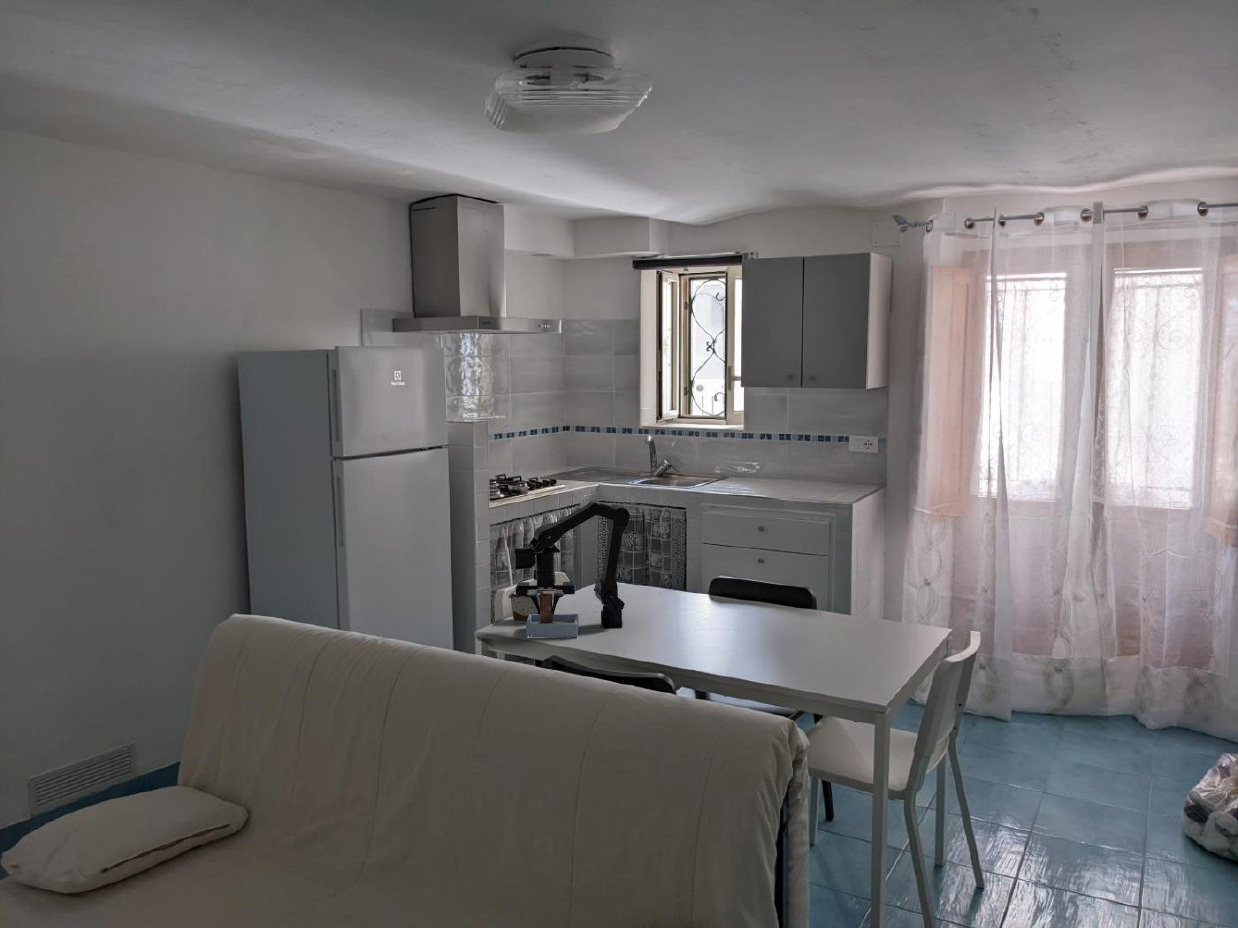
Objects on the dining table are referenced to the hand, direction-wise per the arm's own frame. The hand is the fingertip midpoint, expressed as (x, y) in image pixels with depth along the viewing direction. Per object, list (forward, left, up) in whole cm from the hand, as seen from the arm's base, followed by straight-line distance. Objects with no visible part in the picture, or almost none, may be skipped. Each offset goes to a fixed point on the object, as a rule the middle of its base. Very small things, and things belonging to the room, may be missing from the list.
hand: (546, 614), depth 304 cm
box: (-2, 0, -6) cm, 6 cm away
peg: (0, 0, -2) cm, 3 cm away
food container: (+7, -14, -6) cm, 17 cm away
